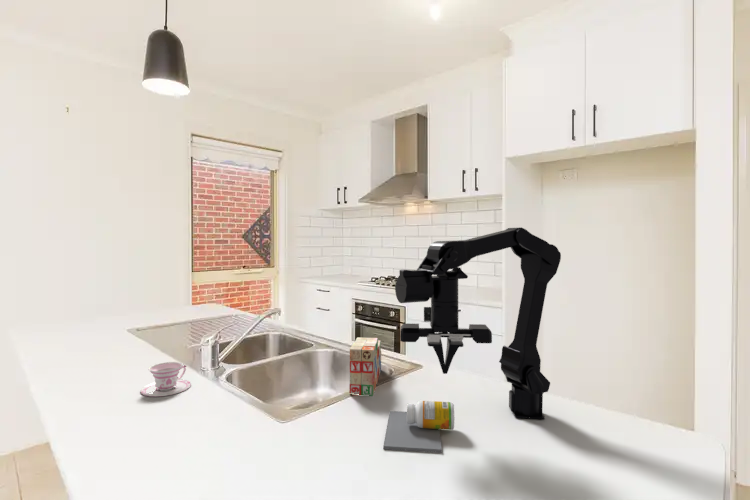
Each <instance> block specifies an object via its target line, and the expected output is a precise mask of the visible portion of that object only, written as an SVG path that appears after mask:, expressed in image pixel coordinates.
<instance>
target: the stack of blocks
mask: <svg viewBox="0 0 750 500" xmlns="http://www.w3.org/2000/svg"><path fill="white" fill-rule="evenodd" d="M381 342H382V340H379V338H378V337H361V336H360V337H356V339H355V341H354V343H353V344H351V346H350V348H349V393H354V394H359V395H369V396H368V397H373V396H374V394H375V392H376V389H375V388H377V386H376V384H377V385H378V380H379V377H380V374H381V372H382V343H381ZM374 391H375V392H374Z"/></svg>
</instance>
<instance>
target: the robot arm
mask: <svg viewBox="0 0 750 500" xmlns="http://www.w3.org/2000/svg"><path fill="white" fill-rule="evenodd" d="M508 248H510V249H511V251H512V252H513V254H514V255H515V256H516V257H518V258H520V269H521V273H522V275H523V279H524V282H523V287H522V294H521V299H520V304H519V309H518V315H517V321H516V325H515V331H514V337H513V340H512V342H511V343H510V344H509V345H507V346H506V345H503V346H502V348H501V355H500V359H499V361H498V363H500V371H501V372H502V373H503V374H504V376H505V379H506V382H508V383H510V384H511V389H510V390H509V391H508V408H509V410H510V411H511V412H512V414H513V417H514V418H516V419H528V420H529V419H532V420H545V419H546V416H545V415H544V413H543V404H544V403H543V398H544V397H543V396H544V393H548V392H549V389H550V386H551V382H550V381H549V380H548V378H547V377H546V376H545V375H544V374H543V373H542V372H541V362H542V359H541V357H540V354H539V351H538V348H537V343H538V337H539V333H540V332H539V331H540V328H541V327H540V326H541V321H542V314H543V309H544V303H545V299H546V293H547V287H548V284H549V282H550V281H551V280H552V279H553V278H554V276H555V275H556V274H557V272H558V270H559V266H560V263H561V259H562V255H561V251H559V248H558V247H557V246H556V245H554V244H550V243H549V242H548V241H547V240H544V239H542V238H541V237H539V236H536V235H534V234H532V233H531V232H530V231H528V230H527V229H526V228H523V227H509V228H508V227H507V228H506V229H504V230H500V231H499V230H498V231H496V232H492V233H487V234H484V235H479V236H476V237H472V238H468V239H463V240H461V239H460V240H437V241H434V242H431V243H430V244H429V247H428V248H427V252H426V256H425V257H424V258H423V260H422V261H421V263H420V264H419V266H418V268H416V269H399V275H398V277H397V279H396V284H395V285H394V291H395V296H396V299H397V302H399V303H400V304H409V303H423V302H428V301H429V300H430V306H424V307H423V322H425V323H427V322H429V323H430V324H429V325H430V327H420V323H402V325H401V326H400V333H399V334H400V335H399V336H400V337H399V338H400V342H401V343H416V342H417V341H418V340H419V339H420V338H426V341H427V346H428V347H432V348H433V350H434V352H435V354H436V356H437V359H438V362H439V365H440V368H441V371H442V374H445V375H446V374H447V375H448V372H449V369H450V367H451V364H452V362H453V359H454V357H455V355H456V353H457V351H458V350H459V348H462V347H464V343H463V340H464V339H465V338H466V339H467V338H469V339H472V341H474V342H475V343H476V344H492V343H493V336H492V335H493V333H492V331H491V329H490V328H489V327H488V326H487V324H474V323H473V324H468V328H459V280H464V279H468V277H469V276H468V274H466V272H464V271H462V268H461V267H460V266H463V265H465V264H467V263H469V261H471V260H473V259H474V258H476V257H479V256H482V255H486V254H490V253H494V252H498V251H500V250H504V249H505V250H506V249H508ZM442 338H446V348H445V349H446V351H445V354H444V347H443V342H442ZM444 355H445V356H444Z"/></svg>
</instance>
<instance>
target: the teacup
mask: <svg viewBox="0 0 750 500" xmlns="http://www.w3.org/2000/svg"><path fill="white" fill-rule="evenodd" d="M186 367H187V365H185V364H184V363H183V362H182V361H181V362H180V361H168V362H162V363H157V364H156V363H155V364H154V365H150V366H149V367H148V371H149V372H150V374H153V375H152V377H154V382H152V383H150V384H146V385H145V386H143V387H142V388H141V390H140V394H141V395H142V396H145V397H150V398H151V397H156V398H157V397H167V396H172V395H177V394H179V393H182V392H184V391H186V390H188V389H190V387H191V386H192V383H191V381H189V380H187V379H182V378H183V377H184V375H185V374H186V370H187V369H186ZM182 369H183V371H182V373H181V374H180V376H179V377H178V375H179V373H180V371H181V370H182ZM154 385H155V387H156V388H158V390H159V391H158V390H157V391H156V389H154V388H153V389H154V390H155V391H154V392H153V391H152V392H153V394H149V393H151V392H149V393H146V392H148V391H146V390H147V389H148V388H149V387H151V386H154ZM174 387H175V388H174ZM149 391H150V390H149Z"/></svg>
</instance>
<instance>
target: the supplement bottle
mask: <svg viewBox="0 0 750 500" xmlns="http://www.w3.org/2000/svg"><path fill="white" fill-rule="evenodd" d="M406 412H407V424H414V423H417V425H418V427H419V428H429V429H440V430H447V431H450V430H455V405H454V402H452V401H435V400H419V401H417V404H415V403H407V404H406Z"/></svg>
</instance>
